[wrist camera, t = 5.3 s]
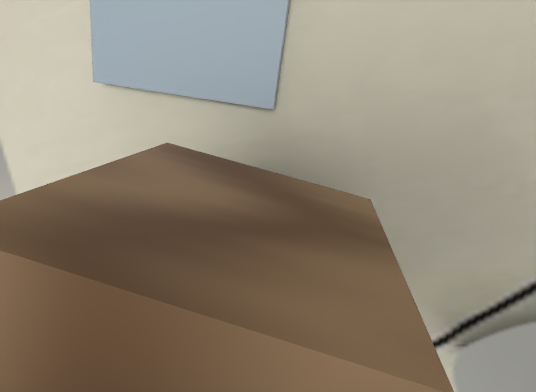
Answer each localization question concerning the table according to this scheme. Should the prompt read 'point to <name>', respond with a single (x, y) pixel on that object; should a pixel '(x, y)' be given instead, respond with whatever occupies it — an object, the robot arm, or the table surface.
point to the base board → (191, 47)
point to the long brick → (203, 285)
